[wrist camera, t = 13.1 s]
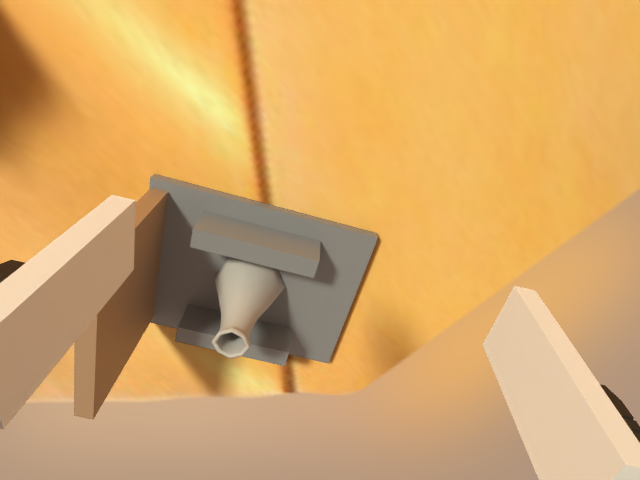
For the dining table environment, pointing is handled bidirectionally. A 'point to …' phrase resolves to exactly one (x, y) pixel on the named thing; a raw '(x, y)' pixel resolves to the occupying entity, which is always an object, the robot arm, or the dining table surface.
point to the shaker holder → (200, 289)
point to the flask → (243, 302)
